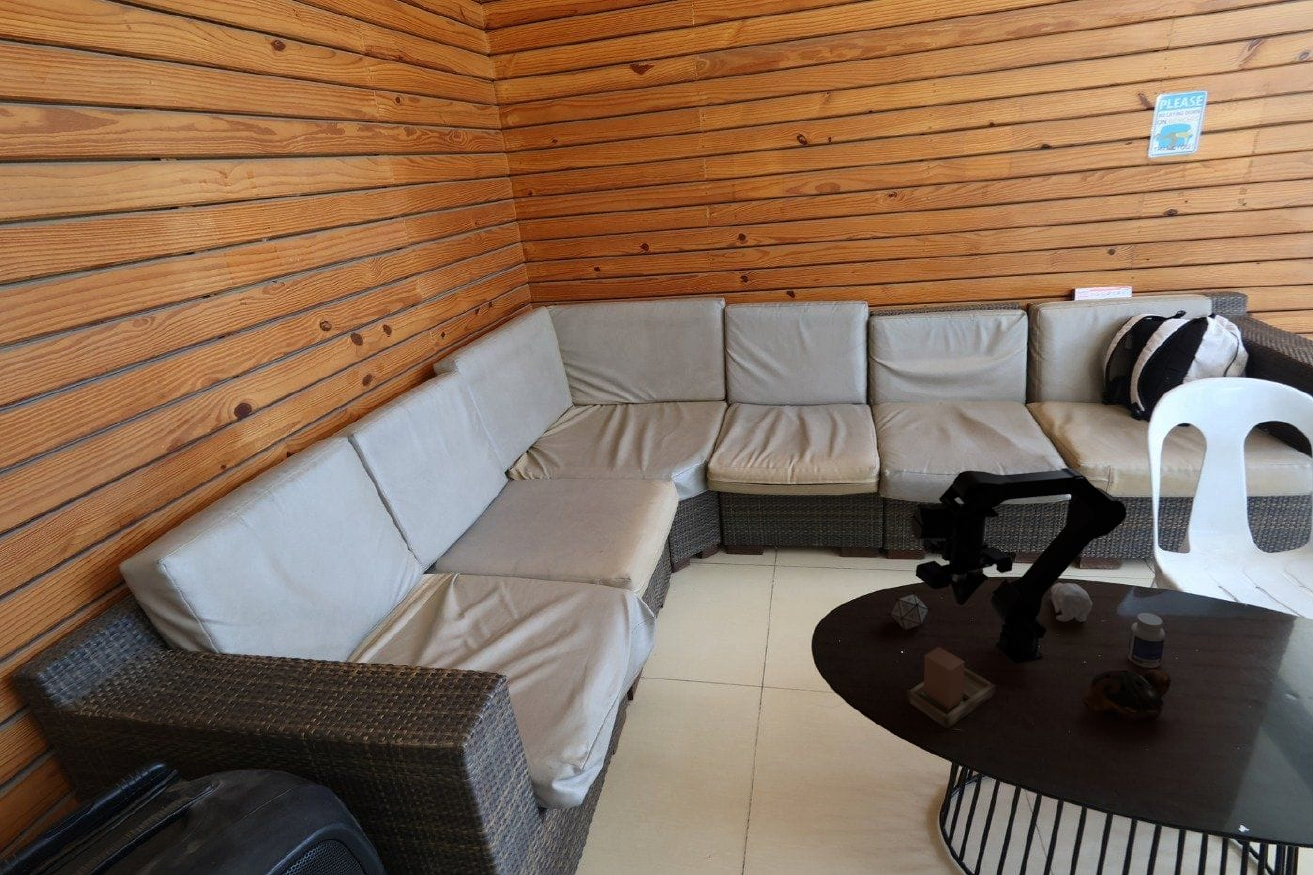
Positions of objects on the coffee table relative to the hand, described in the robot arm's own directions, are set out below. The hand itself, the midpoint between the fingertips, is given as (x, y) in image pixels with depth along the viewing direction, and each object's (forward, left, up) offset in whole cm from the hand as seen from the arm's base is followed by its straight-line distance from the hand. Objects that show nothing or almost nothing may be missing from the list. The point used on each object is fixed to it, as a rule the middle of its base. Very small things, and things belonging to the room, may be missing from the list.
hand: (960, 603), depth 136 cm
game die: (+4, -12, -13) cm, 19 cm away
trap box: (+8, +10, -13) cm, 18 cm away
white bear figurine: (-30, -6, -13) cm, 34 cm away
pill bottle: (-32, +13, -13) cm, 37 cm away
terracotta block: (+10, +11, -12) cm, 19 cm away
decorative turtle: (-18, +23, -13) cm, 32 cm away
